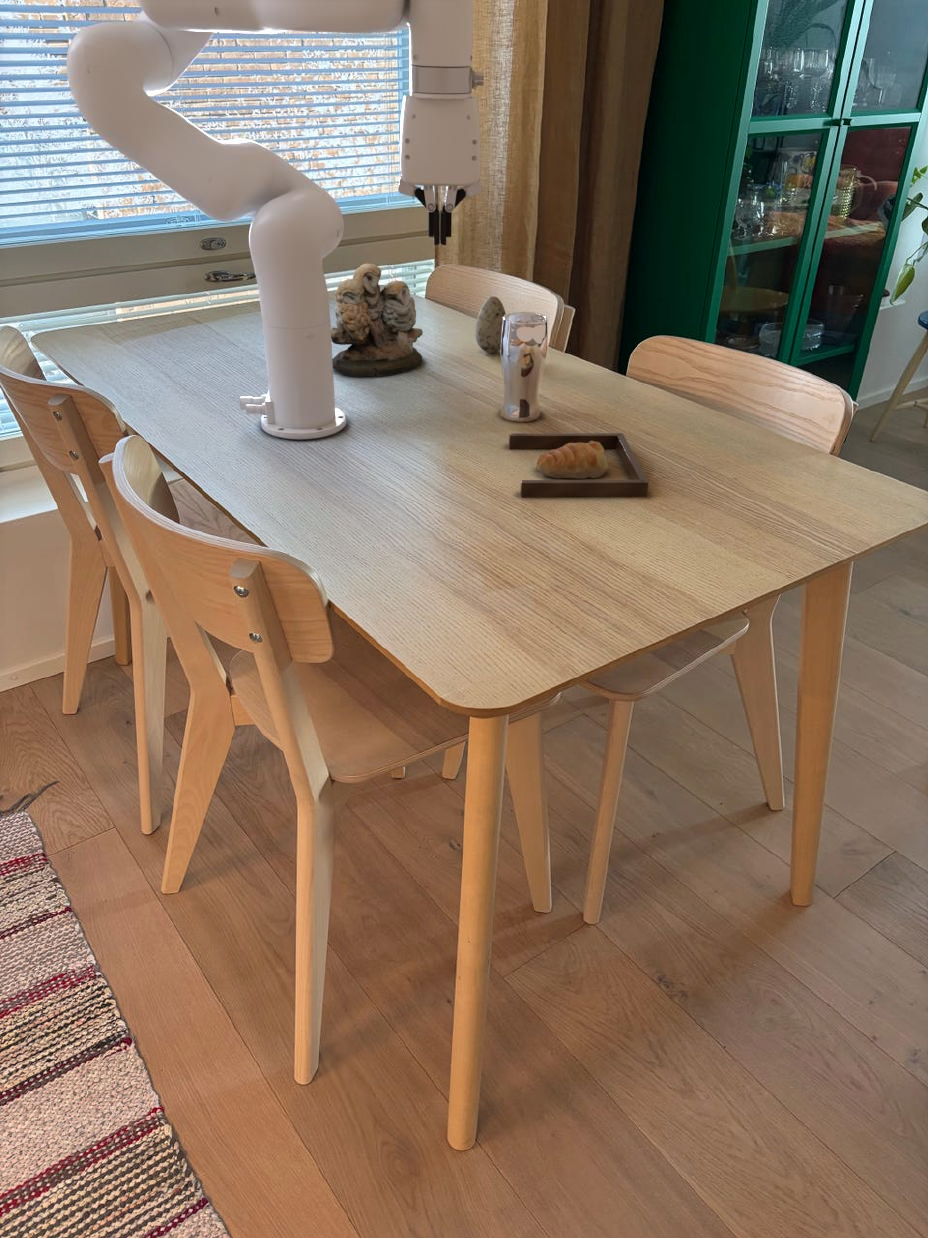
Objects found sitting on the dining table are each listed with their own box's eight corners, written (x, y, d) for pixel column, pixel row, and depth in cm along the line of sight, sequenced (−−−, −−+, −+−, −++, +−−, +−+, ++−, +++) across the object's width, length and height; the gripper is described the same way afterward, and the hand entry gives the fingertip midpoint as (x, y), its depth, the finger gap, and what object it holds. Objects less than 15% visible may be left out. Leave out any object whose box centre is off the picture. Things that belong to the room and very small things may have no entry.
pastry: (546, 484, 127) (548, 457, 125) (528, 465, 132) (529, 439, 130) (611, 477, 129) (613, 450, 127) (590, 458, 135) (592, 432, 133)
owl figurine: (347, 384, 159) (342, 278, 150) (313, 365, 167) (306, 263, 158) (436, 365, 168) (436, 264, 159) (399, 348, 176) (398, 251, 167)
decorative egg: (469, 354, 174) (471, 298, 168) (481, 345, 179) (483, 290, 173) (500, 358, 172) (502, 302, 167) (511, 349, 177) (514, 294, 171)
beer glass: (539, 425, 145) (545, 325, 137) (494, 420, 146) (497, 321, 138) (545, 409, 151) (551, 312, 143) (501, 405, 152) (505, 309, 144)
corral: (521, 497, 124) (521, 483, 123) (508, 446, 138) (509, 433, 137) (647, 496, 125) (648, 482, 123) (621, 445, 139) (623, 432, 138)
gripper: (499, 82, 119) (494, 237, 129) (379, 79, 118) (383, 236, 128) (505, 86, 113) (498, 249, 123) (378, 84, 112) (382, 248, 122)
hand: (439, 242), depth 126 cm, fingers closed
